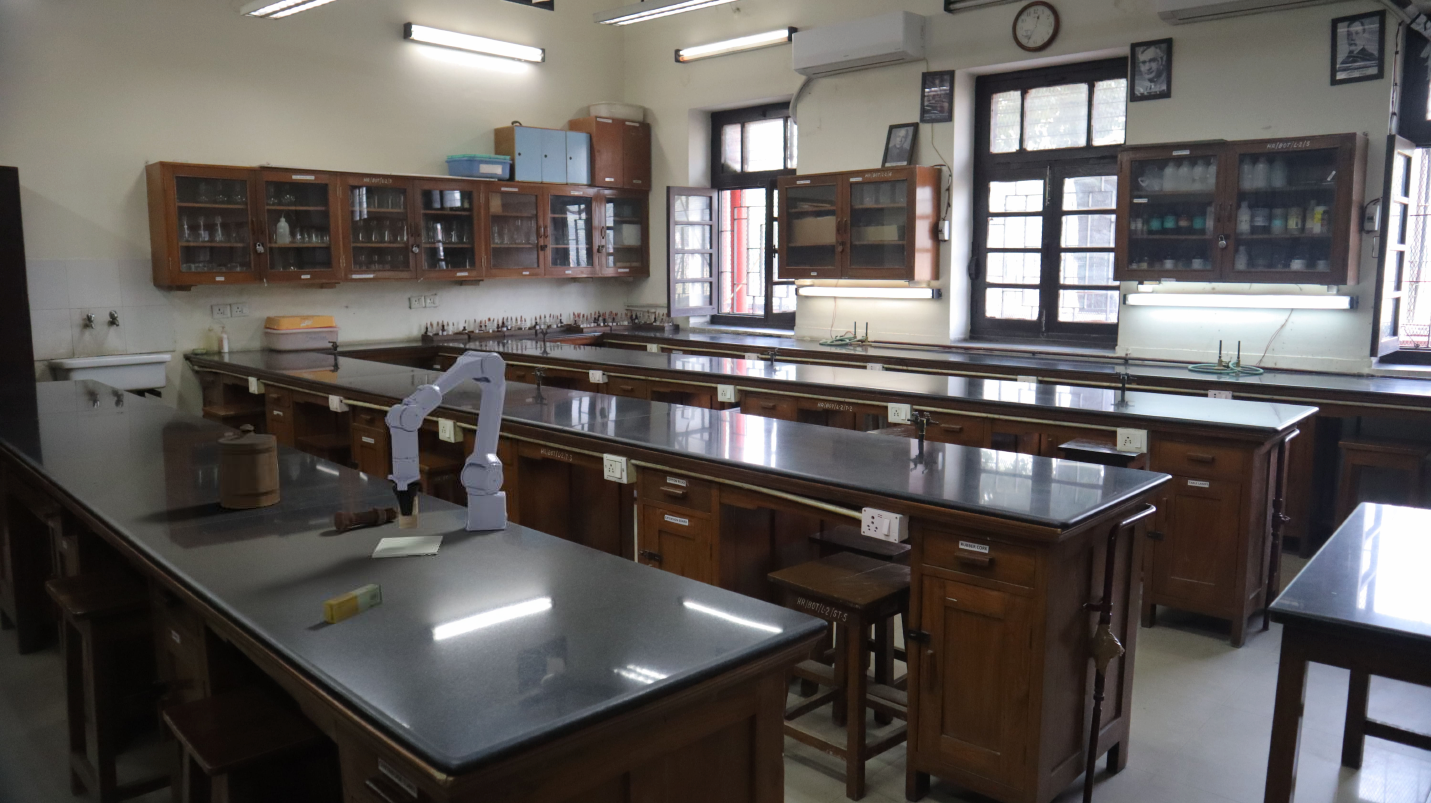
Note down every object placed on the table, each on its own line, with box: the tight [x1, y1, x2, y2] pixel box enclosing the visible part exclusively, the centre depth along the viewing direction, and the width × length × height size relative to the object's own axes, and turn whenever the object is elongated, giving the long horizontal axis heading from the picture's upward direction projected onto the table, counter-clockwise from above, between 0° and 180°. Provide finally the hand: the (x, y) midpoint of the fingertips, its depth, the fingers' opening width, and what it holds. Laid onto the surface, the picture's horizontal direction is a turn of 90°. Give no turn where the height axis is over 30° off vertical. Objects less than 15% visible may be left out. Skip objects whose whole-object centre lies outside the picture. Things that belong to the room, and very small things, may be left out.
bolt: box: [333, 506, 398, 533], centre depth 244 cm, size 6×5×15 cm
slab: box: [397, 496, 419, 530], centre depth 225 cm, size 4×2×7 cm, turn 100°
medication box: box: [323, 583, 383, 624], centre depth 183 cm, size 12×3×4 cm, turn 154°
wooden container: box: [217, 423, 281, 510], centre depth 266 cm, size 15×15×22 cm
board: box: [371, 535, 444, 559], centre depth 225 cm, size 14×14×1 cm
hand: (407, 513), depth 225 cm, fingers closed on slab, 2 cm apart
